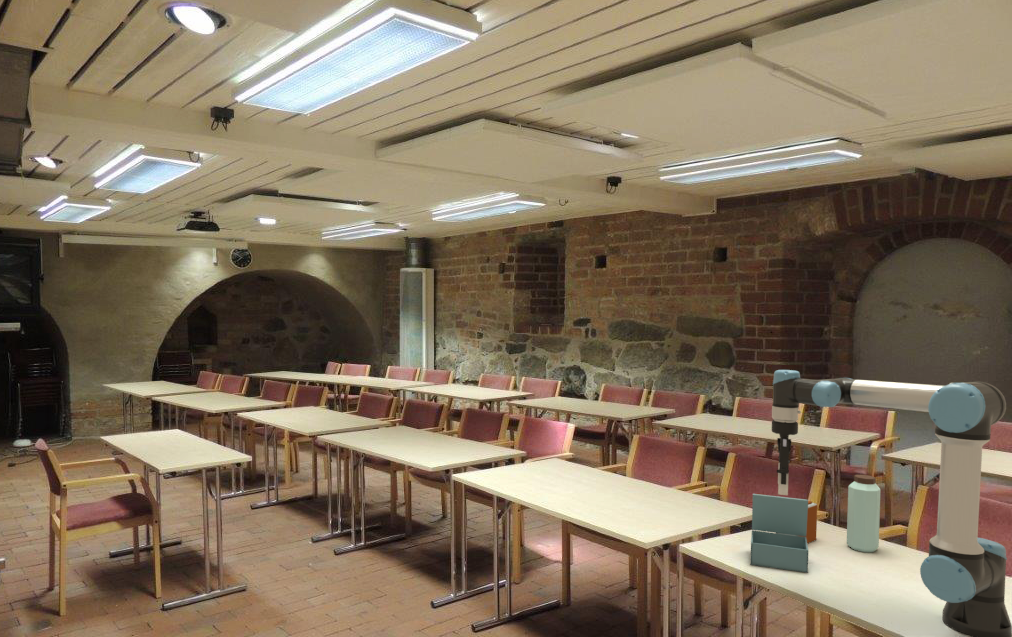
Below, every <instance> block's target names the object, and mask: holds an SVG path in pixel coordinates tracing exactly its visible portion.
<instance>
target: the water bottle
mask: <svg viewBox="0 0 1012 637" xmlns="http://www.w3.org/2000/svg"><path fill="white" fill-rule="evenodd" d="M876 479H877V478H876V477H875V476H873V475H867V474H855V475H853V482H851V483H850V484H849V485H848V486H847V488H848V489H847V490H848V491H847V518H846V520H847V522H846V545H847V546H848V548H850V547H851V548H850V549H852V550H853V549H854V550H853V551H857V550H858V551H857V552H861V553H874V552H876V550H877V549H878V548H879V544H880V517H881V516H880V515H881V514H880V513H881V488H880V487H879V485H878V484H877V483H876V482H877V481H876Z"/></svg>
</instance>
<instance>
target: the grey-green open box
mask: <svg viewBox="0 0 1012 637" xmlns="http://www.w3.org/2000/svg"><path fill="white" fill-rule="evenodd" d="M750 537H751V539H750V565H751V566H756V567H757V566H758V567H765V568H772V569H780V570H786V571H793V572H799V573H809V546H808V544H807V539H806V537H801V536H793V535H785V534H777V533H774V532H766V531H758V530H752V529H751V536H750Z"/></svg>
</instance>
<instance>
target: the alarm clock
mask: <svg viewBox="0 0 1012 637" xmlns="http://www.w3.org/2000/svg"><path fill="white" fill-rule="evenodd" d="M817 524H818V504H817V503H815V502H812V500H808V514H807V531H806V536H801V537H806V539H807V543H808V544H810V543H813V542H815V541H816V540H817V530H818V529H817V527H818V526H817ZM777 534H782V533H777ZM785 535H790V534H785ZM793 536H798V535H793ZM814 540H815V541H814ZM812 541H813V542H812ZM809 542H810V543H809Z"/></svg>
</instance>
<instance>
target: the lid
mask: <svg viewBox="0 0 1012 637" xmlns="http://www.w3.org/2000/svg"><path fill="white" fill-rule="evenodd" d="M808 501H809V499H804V498H794V497H785V496H778V495H777V496H775V495H769V494H767V495H766V494H757V493H752V506H751V508H752V511H751V512H752V513H751V514H752V516H751V531H752V530H754V531H762V532H769V533H782V534H790V535H798V536H806V531H807V514H808Z"/></svg>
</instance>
